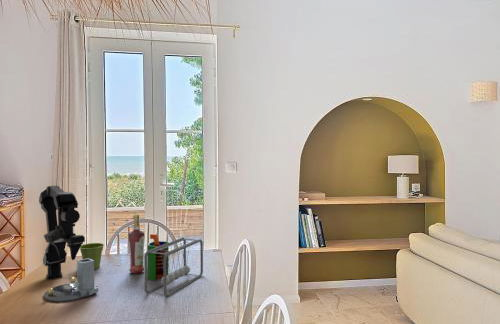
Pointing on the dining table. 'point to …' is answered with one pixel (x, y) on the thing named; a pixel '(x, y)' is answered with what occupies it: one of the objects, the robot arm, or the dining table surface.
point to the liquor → (136, 247)
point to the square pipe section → (85, 278)
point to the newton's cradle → (177, 273)
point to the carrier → (63, 292)
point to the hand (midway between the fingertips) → (67, 259)
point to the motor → (156, 259)
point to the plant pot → (92, 252)
